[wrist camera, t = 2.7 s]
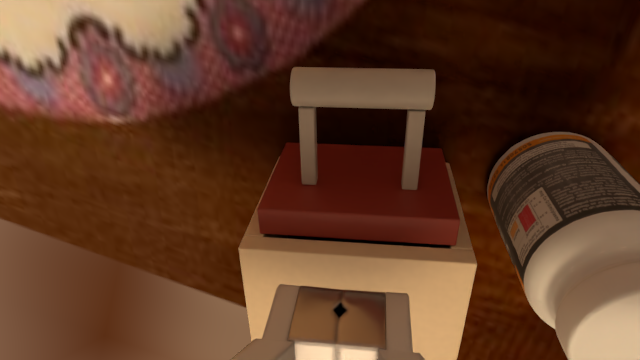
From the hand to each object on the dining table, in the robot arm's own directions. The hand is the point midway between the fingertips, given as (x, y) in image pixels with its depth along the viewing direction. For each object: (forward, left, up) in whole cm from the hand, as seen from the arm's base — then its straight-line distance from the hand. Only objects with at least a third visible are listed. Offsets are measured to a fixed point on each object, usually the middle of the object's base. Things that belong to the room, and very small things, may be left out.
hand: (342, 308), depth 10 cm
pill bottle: (+3, +9, -13) cm, 16 cm away
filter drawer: (+3, 0, -12) cm, 12 cm away
